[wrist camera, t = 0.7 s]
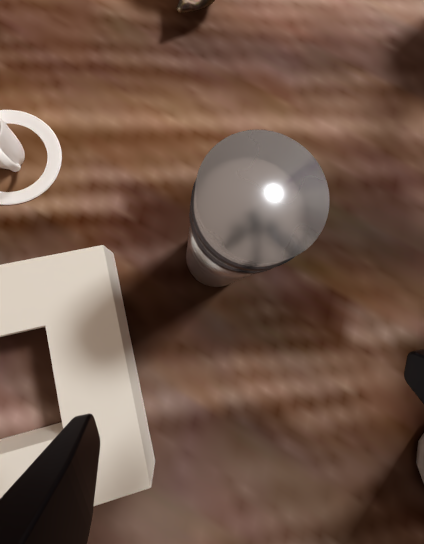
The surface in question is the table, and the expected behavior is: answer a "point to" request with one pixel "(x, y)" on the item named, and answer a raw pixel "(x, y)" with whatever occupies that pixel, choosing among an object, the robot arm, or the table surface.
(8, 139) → the teacup and saucer
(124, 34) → the table surface
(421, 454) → the water bottle
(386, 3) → the table surface
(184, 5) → the ceramic sculpture
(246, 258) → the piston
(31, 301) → the square hole plate
